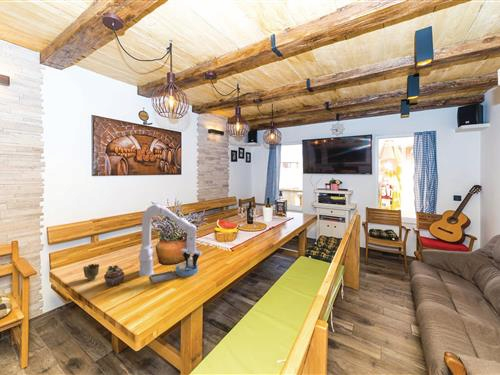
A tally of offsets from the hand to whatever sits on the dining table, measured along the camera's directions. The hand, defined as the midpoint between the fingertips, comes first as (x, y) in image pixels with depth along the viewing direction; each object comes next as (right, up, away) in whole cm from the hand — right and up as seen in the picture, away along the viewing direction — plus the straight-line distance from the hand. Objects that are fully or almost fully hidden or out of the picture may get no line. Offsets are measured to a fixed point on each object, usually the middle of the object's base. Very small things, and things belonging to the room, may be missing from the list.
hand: (191, 264), depth 141 cm
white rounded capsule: (-5, -4, -3) cm, 7 cm away
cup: (-54, -4, -14) cm, 56 cm away
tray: (-14, -5, -10) cm, 18 cm away
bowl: (-2, -4, -1) cm, 5 cm away
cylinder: (0, -2, 0) cm, 2 cm away
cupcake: (-39, -5, -17) cm, 43 cm away
